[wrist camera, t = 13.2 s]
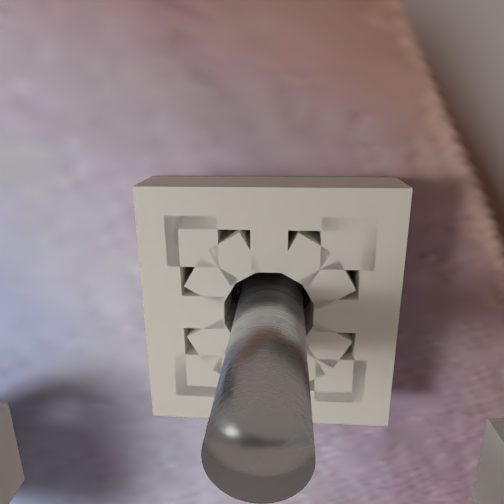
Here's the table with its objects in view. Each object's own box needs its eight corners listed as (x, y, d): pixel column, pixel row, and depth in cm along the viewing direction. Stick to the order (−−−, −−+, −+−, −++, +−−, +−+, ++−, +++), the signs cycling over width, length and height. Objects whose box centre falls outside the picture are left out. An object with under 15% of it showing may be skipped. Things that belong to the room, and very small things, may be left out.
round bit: (242, 316, 24) (203, 500, 13) (241, 261, 23) (198, 408, 12) (301, 318, 24) (313, 506, 13) (303, 262, 23) (317, 413, 12)
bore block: (167, 381, 26) (153, 415, 23) (152, 176, 22) (132, 186, 20) (376, 390, 25) (387, 426, 22) (396, 177, 22) (412, 188, 19)
